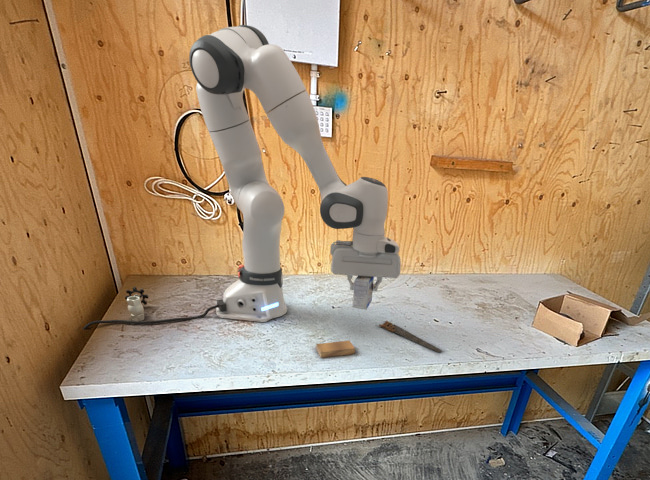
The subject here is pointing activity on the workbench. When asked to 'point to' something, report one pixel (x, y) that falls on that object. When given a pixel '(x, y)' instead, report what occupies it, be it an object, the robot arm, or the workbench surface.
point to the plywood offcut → (335, 349)
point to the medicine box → (362, 292)
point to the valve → (136, 304)
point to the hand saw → (407, 335)
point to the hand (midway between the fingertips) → (363, 290)
